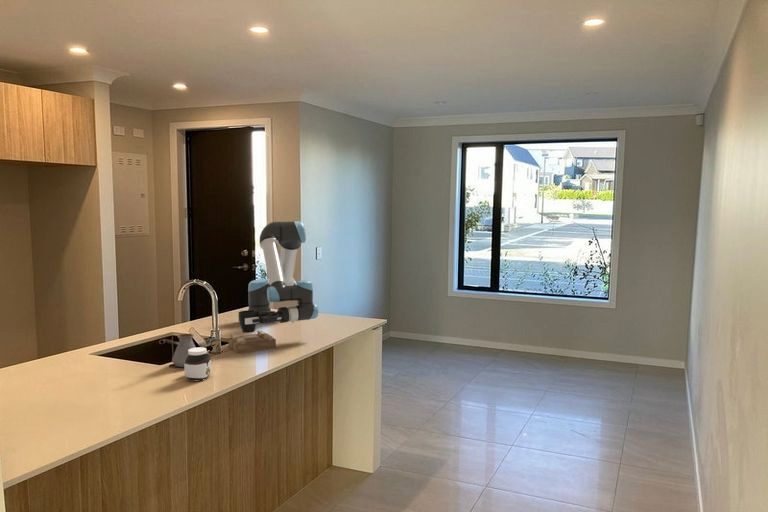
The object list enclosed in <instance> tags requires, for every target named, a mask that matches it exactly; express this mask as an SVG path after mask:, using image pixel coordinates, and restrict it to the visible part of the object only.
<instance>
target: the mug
mask: <svg viewBox="0 0 768 512" xmlns="http://www.w3.org/2000/svg"><path fill="white" fill-rule="evenodd" d="M237 314H238V315H239V321H238V323H239V326H240V328H241V331H242V333H243V334H244V333H245V334H249V333H254V332H255V331H256V326H257V323H254V324H246V325H245V318H253V317H258V316H259V312H258V311H257V310H248V309H247V310H241V311H238V313H237Z"/></svg>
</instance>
